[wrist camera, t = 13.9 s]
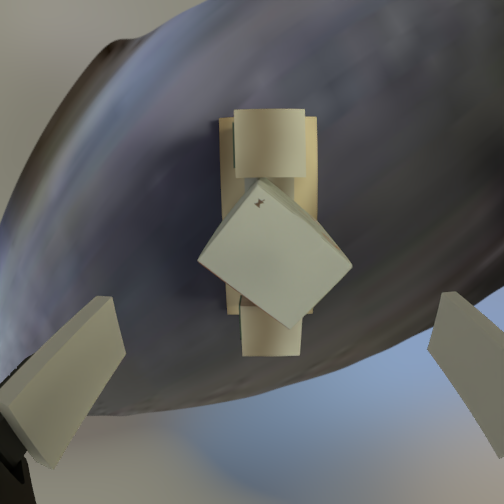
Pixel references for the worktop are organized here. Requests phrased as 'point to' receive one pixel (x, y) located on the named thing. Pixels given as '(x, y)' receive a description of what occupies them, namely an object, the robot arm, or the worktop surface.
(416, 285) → the worktop surface
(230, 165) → the cream u-shaped bracket
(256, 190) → the small box
